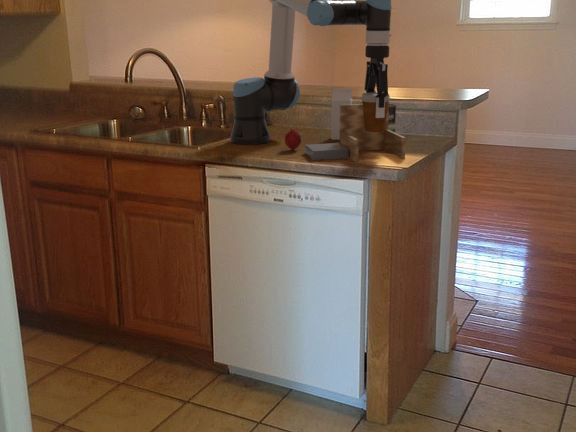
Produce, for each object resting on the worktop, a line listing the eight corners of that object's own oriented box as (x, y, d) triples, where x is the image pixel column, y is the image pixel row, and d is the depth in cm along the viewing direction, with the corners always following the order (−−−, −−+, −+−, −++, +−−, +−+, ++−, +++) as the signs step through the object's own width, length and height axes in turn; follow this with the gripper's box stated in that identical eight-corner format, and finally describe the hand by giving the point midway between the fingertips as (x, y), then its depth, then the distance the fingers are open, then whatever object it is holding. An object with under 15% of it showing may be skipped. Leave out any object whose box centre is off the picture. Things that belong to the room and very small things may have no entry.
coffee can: (398, 145, 239) (400, 106, 235) (371, 146, 238) (372, 107, 234) (390, 140, 249) (391, 102, 245) (363, 141, 247) (364, 103, 243)
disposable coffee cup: (356, 129, 221) (357, 92, 218) (382, 127, 223) (384, 92, 220) (365, 133, 212) (366, 96, 209) (393, 132, 214) (395, 95, 211)
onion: (285, 148, 236) (285, 126, 234) (301, 148, 236) (301, 126, 234) (284, 151, 231) (283, 129, 229) (300, 151, 230) (300, 129, 228)
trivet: (313, 160, 216) (313, 151, 216) (305, 153, 228) (305, 144, 227) (348, 158, 219) (348, 149, 218) (338, 151, 230) (338, 142, 229)
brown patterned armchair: (354, 161, 214) (355, 111, 209) (339, 151, 231) (339, 105, 226) (404, 158, 217) (406, 109, 212) (386, 148, 234) (387, 103, 229)
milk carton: (350, 140, 250) (350, 89, 245) (331, 140, 252) (331, 89, 246) (352, 137, 257) (352, 87, 252) (333, 136, 259) (334, 87, 253)
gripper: (401, 46, 200) (397, 120, 207) (377, 42, 220) (375, 110, 227) (377, 46, 199) (374, 121, 205) (356, 43, 219) (354, 110, 226)
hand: (375, 115), depth 216 cm, fingers closed on disposable coffee cup, 9 cm apart
